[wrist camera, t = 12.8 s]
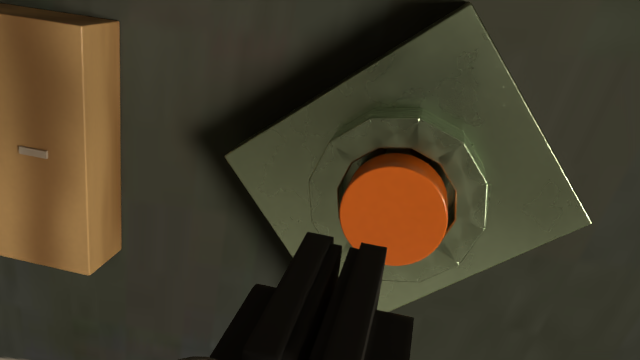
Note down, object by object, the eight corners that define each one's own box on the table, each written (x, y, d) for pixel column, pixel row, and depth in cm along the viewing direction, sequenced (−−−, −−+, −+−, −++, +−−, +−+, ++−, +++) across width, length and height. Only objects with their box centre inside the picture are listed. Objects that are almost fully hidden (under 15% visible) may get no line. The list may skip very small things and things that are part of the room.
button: (415, 134, 21) (412, 146, 20) (466, 220, 22) (468, 239, 20) (327, 182, 23) (318, 197, 21) (378, 261, 23) (374, 282, 22)
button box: (468, 0, 23) (473, 4, 19) (580, 203, 24) (605, 243, 21) (240, 142, 27) (207, 168, 23) (349, 307, 29) (335, 356, 25)
